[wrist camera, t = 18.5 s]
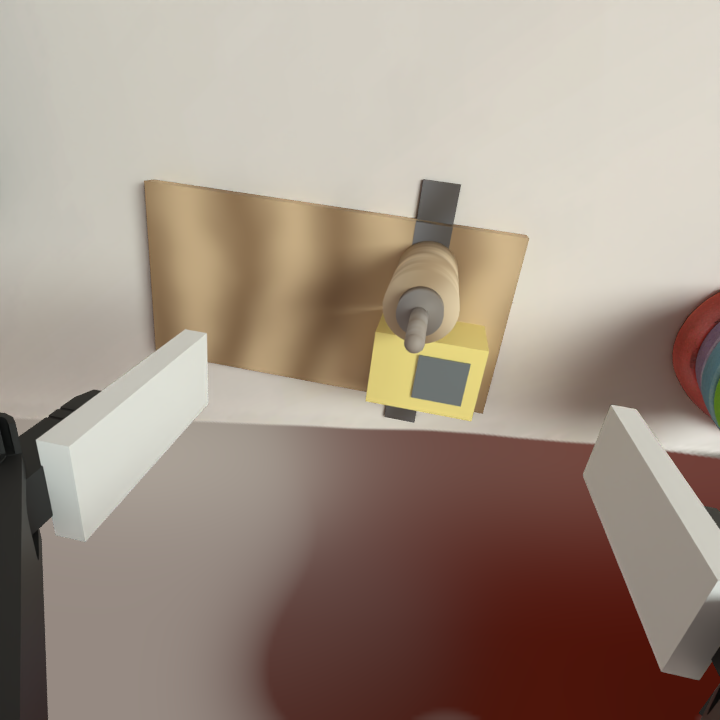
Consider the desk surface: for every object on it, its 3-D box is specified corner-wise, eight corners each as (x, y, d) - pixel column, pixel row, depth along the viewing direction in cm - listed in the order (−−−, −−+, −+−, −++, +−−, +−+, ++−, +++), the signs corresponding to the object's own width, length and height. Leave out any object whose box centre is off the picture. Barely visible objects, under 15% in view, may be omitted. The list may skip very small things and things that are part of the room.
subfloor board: (165, 373, 41) (157, 379, 40) (151, 141, 33) (141, 141, 32) (474, 432, 38) (475, 441, 37) (536, 195, 31) (540, 197, 30)
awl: (393, 294, 34) (362, 380, 22) (402, 236, 32) (372, 294, 20) (451, 304, 33) (451, 396, 21) (463, 245, 32) (470, 310, 20)
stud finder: (375, 371, 36) (365, 402, 32) (384, 309, 34) (375, 332, 30) (469, 389, 36) (471, 422, 32) (484, 325, 34) (489, 352, 29)
